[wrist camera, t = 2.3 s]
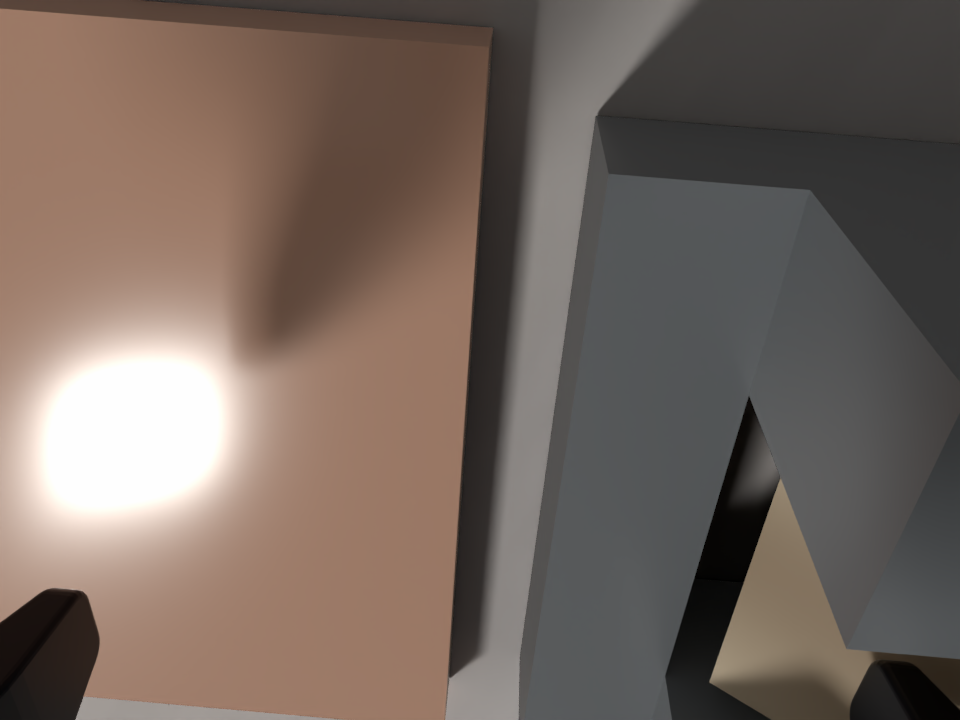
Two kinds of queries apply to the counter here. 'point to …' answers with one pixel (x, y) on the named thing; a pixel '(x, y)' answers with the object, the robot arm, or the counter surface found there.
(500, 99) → the counter surface
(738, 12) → the counter surface
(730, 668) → the maple bar
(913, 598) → the grey hollow block
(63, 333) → the terracotta tile
